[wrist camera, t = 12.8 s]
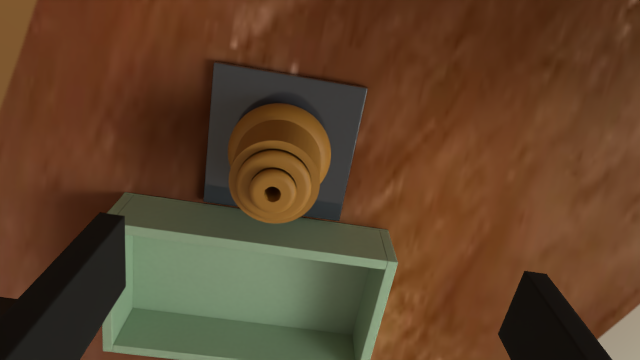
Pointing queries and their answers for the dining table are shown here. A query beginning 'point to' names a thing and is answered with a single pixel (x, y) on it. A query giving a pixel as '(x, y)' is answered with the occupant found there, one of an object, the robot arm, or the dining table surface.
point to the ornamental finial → (277, 162)
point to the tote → (246, 285)
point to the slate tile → (276, 87)
